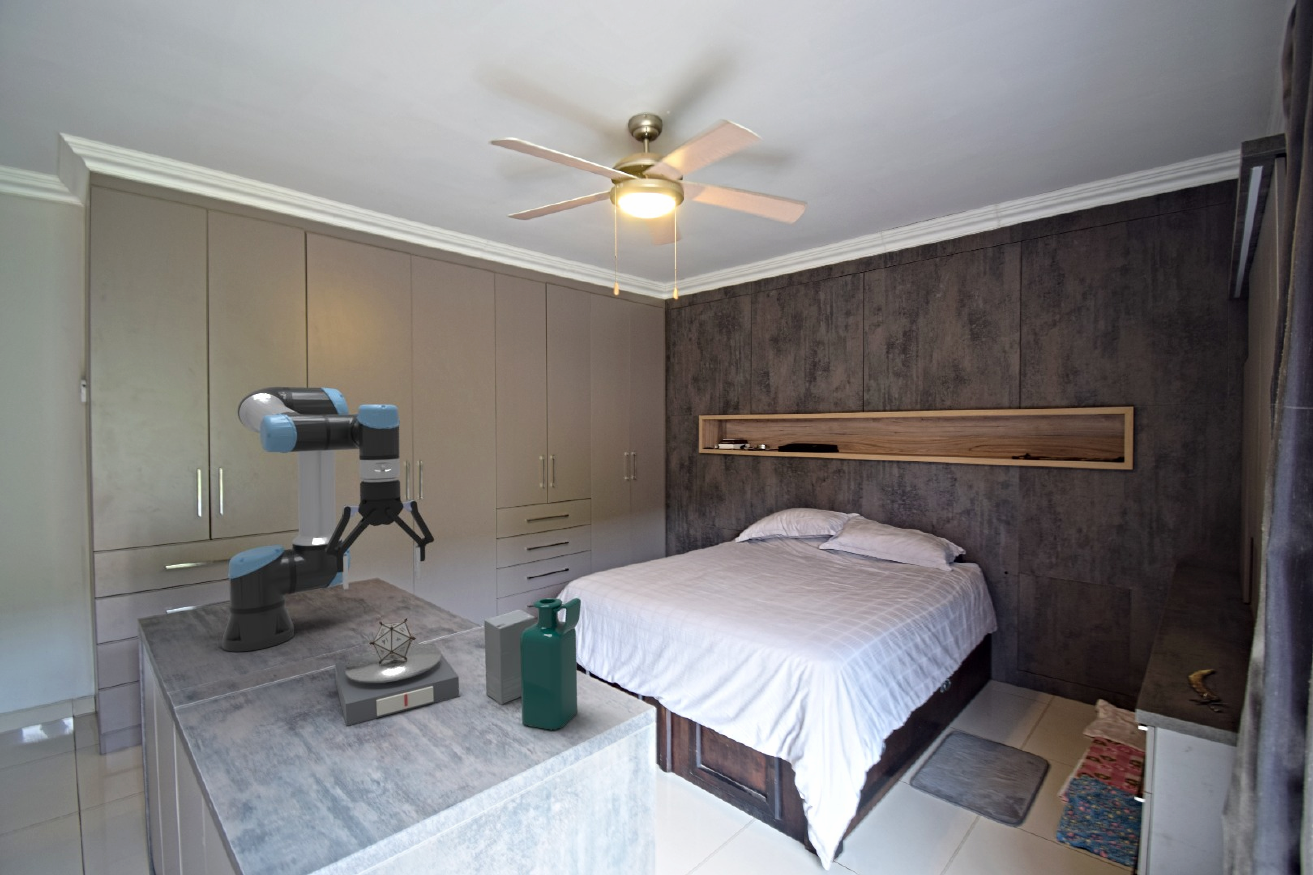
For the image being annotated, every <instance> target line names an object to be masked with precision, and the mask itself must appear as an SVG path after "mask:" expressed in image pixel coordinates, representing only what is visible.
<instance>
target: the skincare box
mask: <svg viewBox="0 0 1313 875" xmlns="http://www.w3.org/2000/svg"><path fill="white" fill-rule="evenodd" d="M483 621H484V622H483V624H484V625H483V626H484V651H485V652H484V654H485V655H484V657H485V658H484V659H485V685H486V686H485V690H486V691H485V692H486V695H487V696H489V697H491V699H493V700H494V701H496V702H497V703H498V704H500V705H505V704H507V703H509V702H512V701H513V700H516V699H518V698H521V663H520V637H521V634H522V632H523V631H524V630H525V629H527V628H528V627H530V626H532V625H533V624H535V623H536V617H535V616H534V615H532V614H530V613H528V612H525V611H524V610H522V609H519V608H518V609H515V610H512V611H511V610H510V611H508V612H506V613H503V614H499V615H496V616H492V617H488V618H485V619H484V620H483Z"/></svg>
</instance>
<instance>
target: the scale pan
mask: <svg viewBox="0 0 1313 875" xmlns="http://www.w3.org/2000/svg"><path fill="white" fill-rule="evenodd" d="M428 644H429V643H412V642H411V644H410V647H409V649H408V651H407V654H406V656H405V657H407V661H406V660H405V659H404V658H398V659H391V660H383V661H382V662H381V664H379V661H380V660H381V659H380V657H379V655H378V653H377V651H376V649H375V648H374V649H372V650H368V651H366V652H363V653H362V654H359V655H357V656H356V657H354V658H352V659H350V660H351V661H350V662H349V663H348V664H347V665H346V667H345V674H346V676H347V677H348V678H349V679H351V680H353V681H356V682H362V683H384V682H392V681H397V680H402V679H406V678H410V677H413V676H416V675H419V674H421V673H424V672H426V671H428V670H430V669H431V668H433V667H434V666H436V665H437V664H438V663H439V662H440V660H441V654H442V652H441V649H440V648H438V646H436V645H435V646H436V647H435V646H432V645H428Z"/></svg>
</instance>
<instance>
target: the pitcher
mask: <svg viewBox="0 0 1313 875" xmlns="http://www.w3.org/2000/svg"><path fill="white" fill-rule="evenodd" d="M581 604H582V601H581V599H580V598H578V597H574V598H572V599H571V600H569V601H567V602H565V603H563V600H562V599H560V598H557V597H543V598H539V599H536V600H535V601H534V602H533V603H532V606H533V608H535V609H537V621H536V622H535V624H533V625H532V626H530V627H528V628H527V629H525V630H524V631H523V632H522V634H521V637H520V663H521V697H520V703H521V704H520V705H521V707H520V708H521V721H522V723H523V724H524V725H525V726H527V725H528V727H532V726H533V728H537V727H538V729H542V728H545V729H544V730H547V729H550V730H549V731H553V730H552V729H557V728H560V729H562V728H563V727H564V726H565V725H566V724H567V723H569V721H570V720H572V718H574V717H575V715H577V713H578V673H577V672H578V670H577V669H578V668H577V666H578V665H577V663H578V662H577V631H576V627H577V625H578V623H579V620H580V615H581ZM563 609H565V618H564V621H561V620H559V612H560V611H562V610H563ZM561 727H562V728H561ZM557 730H558V729H557Z"/></svg>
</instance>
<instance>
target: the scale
mask: <svg viewBox="0 0 1313 875" xmlns="http://www.w3.org/2000/svg"><path fill="white" fill-rule="evenodd" d="M427 644H428V645H432V646H435V647H437V646H436V644H435V643H434V642H431V643H427ZM351 660H352V659H349V660H345V661H340V662H335V663H334V672H335V673H334V674H335V675H334V676H335V677H334V678H335V685H336V690H337V693H338V694H337V695H338V697H339V701H340V704H341V705H340V706H341V710H342V713H343V718H344V721H345V725H346V727H348V726H351V725H356V724H360V723H363V722H367V721H370V720H374V719H377V718H381V717H382V718H383V717H385V716H389V715H393V714H397V713H401V712H405V711H409V710H413V709H417V708H420V707H424V706H428V705H432V704H436V703H439V702H442V701H446V700H447V701H448V700H451V699H454V698H458V697H460V680H459V679H460V678H459V675H458V674H457V672H456V671H455V670H454V668H453V667H452V665H451V664H450V662H448V660H447V659H446V658H445V656H444V655H443V654H442V653H441V660H440V662H439V663H438V664H437V665H436V666H434V667H433V668H431V669H430V670H428V671H426V672H424V673H421V674H419V675H416V676H413V677H410V678H406V679H402V680H397V681H392V682H384V683H362V682H356V681H353V680H351V679H349V678H348V677H347V676H346V674H345V667H346V665H347V664H348V663H349V662H350V661H351Z"/></svg>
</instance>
